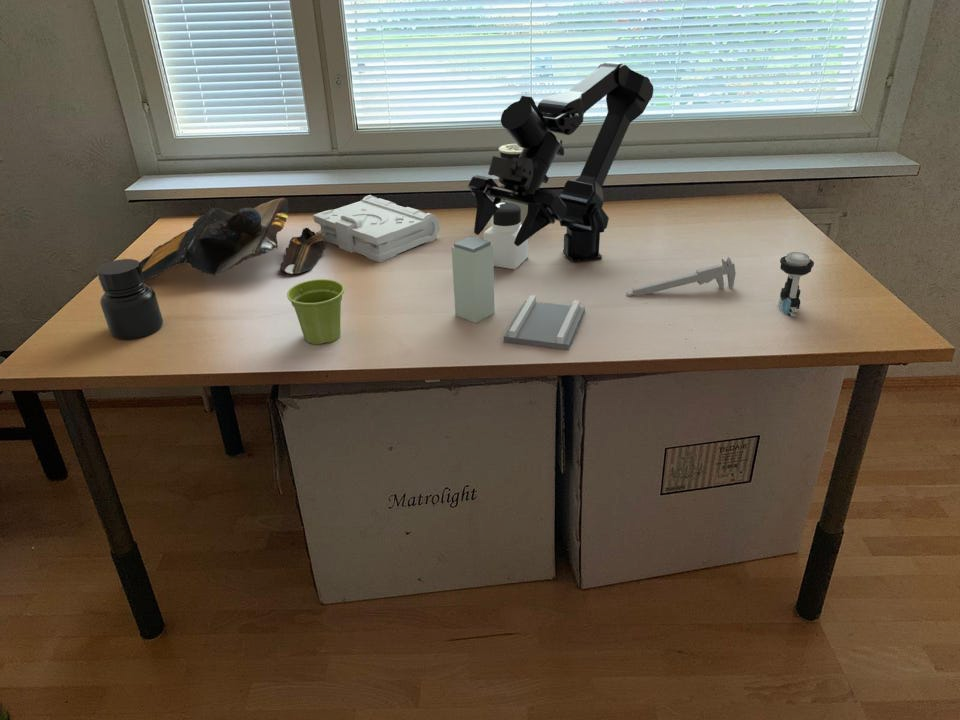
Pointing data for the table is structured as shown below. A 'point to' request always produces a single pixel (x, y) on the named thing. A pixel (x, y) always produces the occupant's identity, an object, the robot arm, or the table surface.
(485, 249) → the block
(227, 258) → the toolset
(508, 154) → the travel mug
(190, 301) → the table surface
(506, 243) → the medicine bottle
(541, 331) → the rail plate
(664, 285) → the caliper
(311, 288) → the plant pot
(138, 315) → the ink bottle
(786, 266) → the push button
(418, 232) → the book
